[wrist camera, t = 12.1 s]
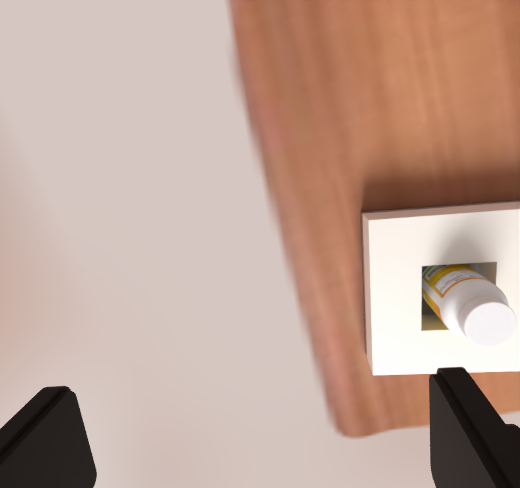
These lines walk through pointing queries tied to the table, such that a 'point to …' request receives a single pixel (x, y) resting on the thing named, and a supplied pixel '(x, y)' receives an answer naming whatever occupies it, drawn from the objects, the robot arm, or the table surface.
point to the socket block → (410, 283)
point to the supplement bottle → (469, 304)
